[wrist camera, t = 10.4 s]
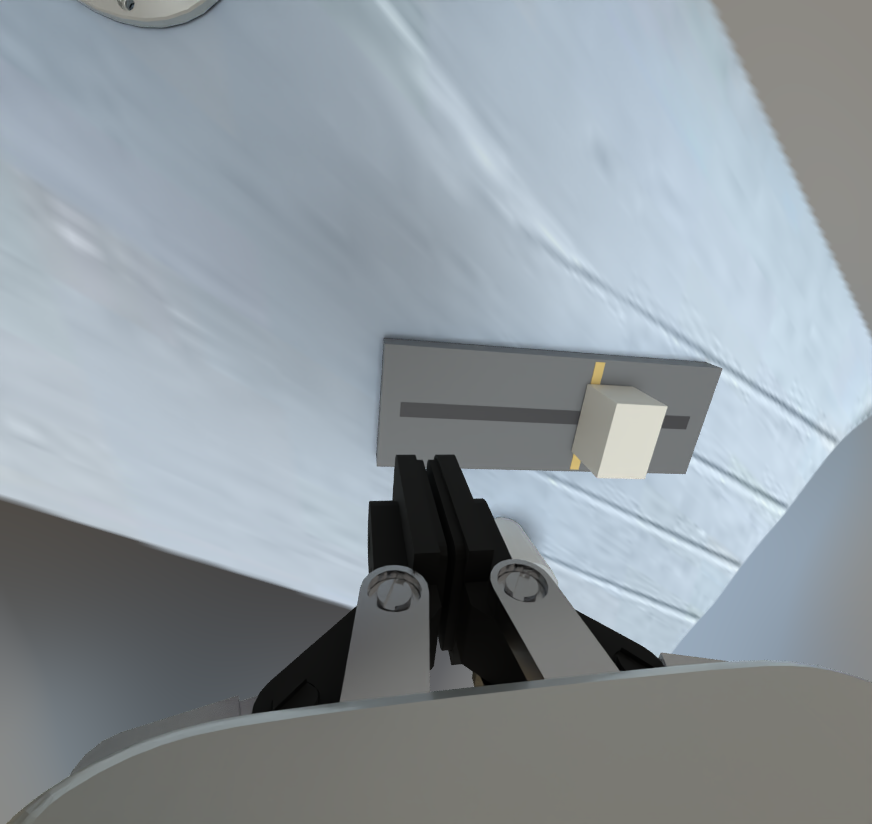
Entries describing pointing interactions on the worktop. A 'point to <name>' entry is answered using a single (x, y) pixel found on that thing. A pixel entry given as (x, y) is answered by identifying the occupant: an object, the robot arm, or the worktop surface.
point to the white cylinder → (521, 544)
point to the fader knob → (618, 431)
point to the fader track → (524, 404)
